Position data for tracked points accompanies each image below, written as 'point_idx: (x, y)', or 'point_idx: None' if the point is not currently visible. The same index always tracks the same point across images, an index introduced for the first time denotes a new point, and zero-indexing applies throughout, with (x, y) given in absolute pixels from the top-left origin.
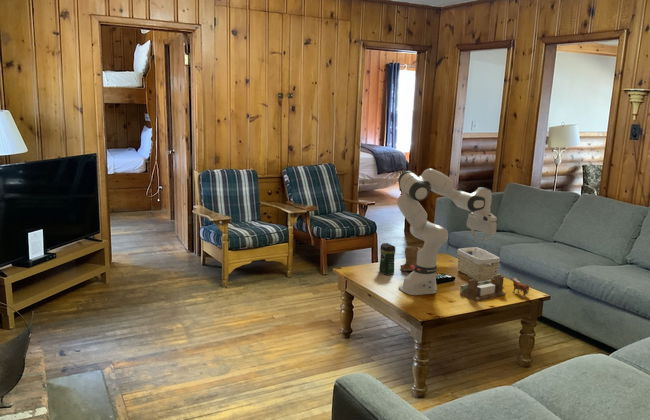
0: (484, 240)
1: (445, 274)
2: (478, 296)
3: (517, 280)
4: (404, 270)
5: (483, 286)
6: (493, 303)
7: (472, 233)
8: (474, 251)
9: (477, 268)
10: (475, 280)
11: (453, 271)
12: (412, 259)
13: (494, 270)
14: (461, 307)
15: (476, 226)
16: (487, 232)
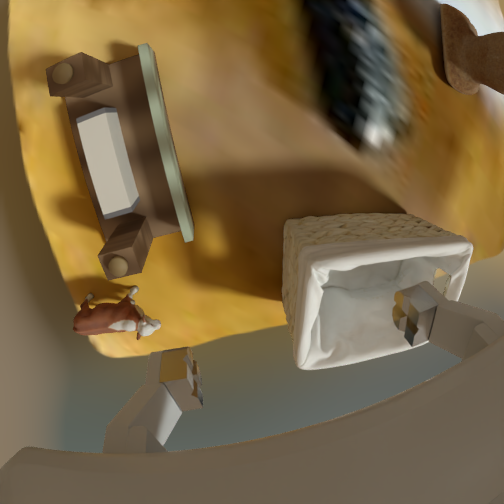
0: (182, 348)
1: (394, 135)
2: (85, 109)
3: (122, 328)
4: (440, 4)
5: (95, 147)
6: (38, 150)
7: (446, 303)
8: None
9: (305, 238)
10: (65, 88)
11: (409, 190)
12: (480, 42)
13: (291, 315)
14: (37, 15)
15: (458, 454)
16: (66, 473)
